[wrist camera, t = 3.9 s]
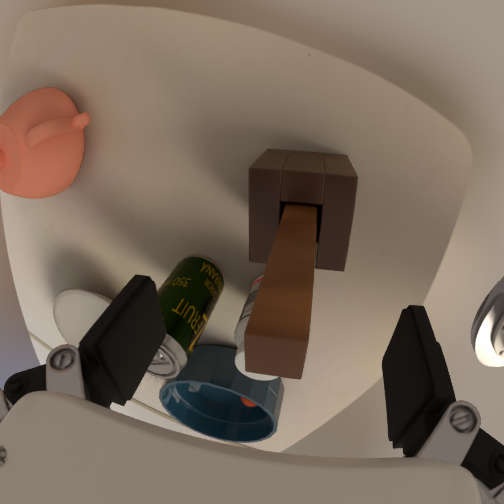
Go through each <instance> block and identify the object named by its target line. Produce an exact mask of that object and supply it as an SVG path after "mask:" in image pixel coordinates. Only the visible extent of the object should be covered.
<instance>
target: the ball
mask: <svg viewBox="0 0 504 504" xmlns="http://www.w3.org/2000/svg"><path fill="white" fill-rule="evenodd" d="M241 400H242V402H243V403H244V404H245V405H246V406H249V407H254V406H257V405H256V404H255V403H253V402H251V401H250V400H248V399H246V398H244V397H242V396H241Z"/></svg>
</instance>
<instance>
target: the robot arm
mask: <svg viewBox="0 0 504 504" xmlns="http://www.w3.org/2000/svg"><path fill="white" fill-rule="evenodd" d="M165 337H166V327H165V323H164V319H163V315H162V311H161V307H160V303H159V298H158V294H157V290H156V285H155V282H154V281H152V279H151V278H150V277H149V276H144V275H135V276H134V277H133V278H132V279H131V280H130V281H129V282H128V284H127V285H126V286H125V287H124V288H123V289H122V291H121V292H120V293H119V294H118V295H117V296H116V298H115V299H114V300H113V301H112V302H111V304H110V305H109V306H108V307H107V308H106V310H105V311H104V312H103V313H102V314H101V316H100V317H99V318H98V319H97V321H96V322H95V323H94V324H93V325H92V327H91V328H90V329H89V330H88V332H87V333H86V334H85V336H84V337H83V338H82V339H81V341H80V342H79V347H78V348H76V347H75V346H73V345H68V344H65V345H61V346H58V347H56V348H55V349H53V350H52V351H51V352H50V353H49V355H48V357H47V360H46V364H44V365H41V366H38V367H35V368H32V369H28V370H26V371H22V372H19V373H16V374H14V375H12V376H11V377H9V378H8V380H7V381H6V383H5V385H4V390H2V389H1V388H0V504H504V445H502V444H501V443H500V442H498V441H497V440H496V439H494V438H493V437H491V436H490V435H489V434H488V433H486V432H485V431H484V430H482V429H481V428H480V424H481V418H480V415H479V412H478V410H477V409H476V407H475V406H474V405H472V404H471V403H469V402H467V401H461V400H460V401H456V398H455V394H454V390H453V386H452V383H451V379H450V375H449V372H448V368H447V365H446V362H445V359H444V355H443V352H442V349H441V346H440V344H439V343H438V342H436V339H435V336H434V333H433V330H432V327H431V324H430V321H429V318H428V316H427V313H426V310H425V308H424V306H417V305H409V306H408V307H407V309H403V310H402V313H401V315H400V318H399V320H398V323H397V326H396V328H395V331H394V333H393V336H392V338H391V340H390V343H389V345H388V347H387V350H386V352H385V354H384V357H383V360H382V371H383V379H384V389H385V398H386V410H387V424H388V438H389V441H393V448H403V454H404V456H403V457H402V458H337V457H336V458H335V457H318V456H305V455H294V454H285V453H277V452H270V451H263V450H256V449H250V448H244V447H239V446H234V445H229V444H224V443H219V442H215V441H210V440H206V439H202V438H198V437H194V436H190V435H186V434H183V433H179V432H175V431H172V430H169V429H165V428H162V427H159V426H156V425H153V424H149V423H146V422H143V421H141V420H138V419H135V418H132V417H129V416H127V415H124V414H121V413H118V412H116V411H113V410H111V409H110V405H111V403H112V402H114V403H117V404H119V405H122V406H124V405H125V403H126V401H127V400H128V401H129V400H130V399H131V398H132V397H133V395H134V393H135V391H136V389H137V388H138V386H139V384H140V382H141V380H142V378H143V377H144V375H145V373H146V371H147V369H148V368H149V366H150V364H151V362H152V361H153V359H154V357H155V355H156V353H157V352H158V350H159V348H160V346H161V345H162V343H163V341H164V339H165ZM492 344H493V348H494V350H495V353H496V354H497V355H498V356H499V357H501V358H504V314H503V316H502V317H501V319H500V320H499V322H498V324H497V326H496V328H495V331H494V334H493V338H492Z"/></svg>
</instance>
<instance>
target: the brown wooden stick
mask: <svg viewBox="0 0 504 504" xmlns="http://www.w3.org/2000/svg"><path fill="white" fill-rule="evenodd" d="M316 228H317V204H310V203H299V202H286V205H285V208H284V212H283V215H282V218H281V221H280V224H279V227H278V231H277V234H276V237H275V240H274V243H273V246H272V249H271V253H270V256H269V259H268V262H267V265H266V268H265V271H264V274H263V277H262V280H261V283H260V286H259V290H258V293H257V296H256V299H255V302H254V305H253V308H252V311H251V314H250V317H249V320H248V323H247V326H246V329H245V332H244V352H245V371H246V372H250V373H256V374H263V375H270V376H277V377H284V378H292V379H301V378H302V373H303V368H304V363H305V358H306V353H307V348H308V342H309V332H310V321H311V310H312V297H313V283H314V268H315V250H316Z"/></svg>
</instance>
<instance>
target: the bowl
mask: <svg viewBox="0 0 504 504" xmlns="http://www.w3.org/2000/svg"><path fill="white" fill-rule="evenodd" d="M236 353H237V350H235V349H231V348H227V347H223V346H212V345H203V346H195V348H194V350H193V352H192V354H191V356H190V359H189V361H188V363H187V365H186V366H185V367H184V368H183V369H182V370H181V371H180V372H179V374H178V375H177V376H176V377H174V378H170V379H169V378H166V379H165V381H164V383H163V385H162V387H161V389H160V393H159V399H160V401H161V403H162V405H163V407H164V408H165V409H166V411H167V412H168V413H169V414H170V415H171V416H172V417H174V418H175V419H176V420H177V421H179V422H180V423H181V424H183V425H185V426H187V427H188V428H190V429H192V430H194V431H196V432H198V433H201V434H203V435H206V436H209V437H212V438H216V439H219V440H224V441H230V442H239V443H251V442H258V441H262V440H265V439H267V438H270V437H271V436H272V435H273V434H274V433H275V432H276V431H277V426H278V421H279V416H280V411H281V405H282V400H283V394H284V386H283V384H282V381H281V379H280V377H277V378H275V379H273V380H256V379H252V378H250V377H247V376H246V375H244V374H242V373H241V372H240V371H239V370H238V369H237V367H236V365H235V356H236ZM241 396H242V397H244V398H246V399H248V400H250V401H251V402H253V403H255V404H256V405H257V406H254V407H249V406H246V405H245V404H244V403H243V402H242V400H241Z"/></svg>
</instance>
